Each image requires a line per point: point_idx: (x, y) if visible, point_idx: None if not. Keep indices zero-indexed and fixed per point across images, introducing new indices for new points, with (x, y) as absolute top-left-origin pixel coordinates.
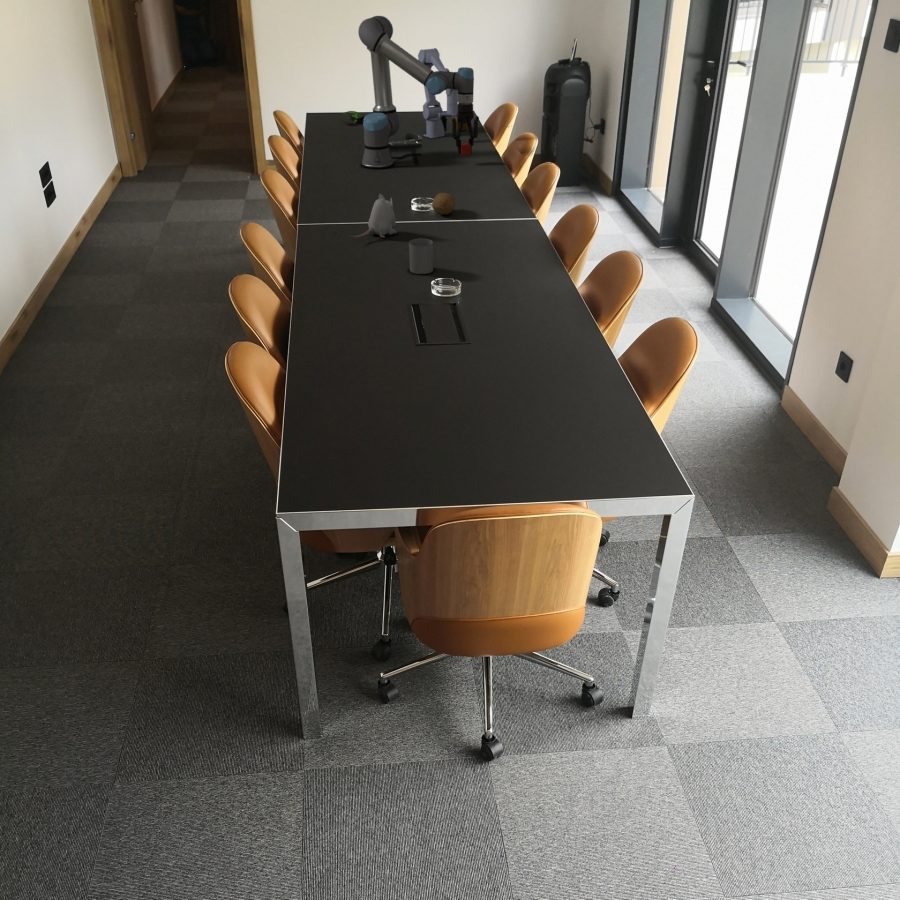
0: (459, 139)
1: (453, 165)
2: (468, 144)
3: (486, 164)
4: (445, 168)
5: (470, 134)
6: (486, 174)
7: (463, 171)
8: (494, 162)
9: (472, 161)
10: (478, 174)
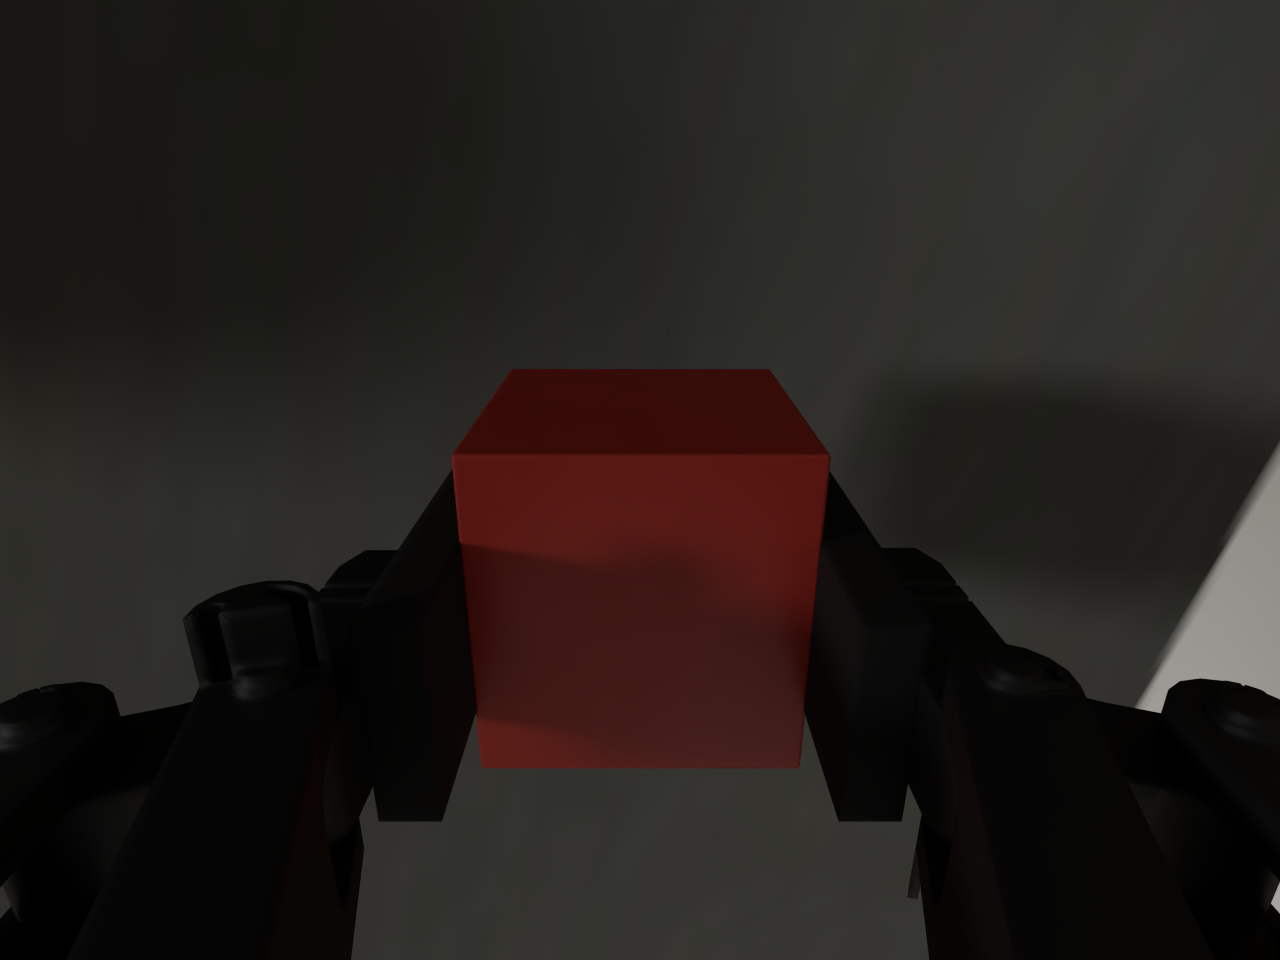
0: (361, 845)
1: (426, 411)
2: (727, 740)
3: (1024, 511)
4: (252, 555)
5: (948, 957)
6: (771, 953)
7: (508, 771)
8: (1234, 425)
9: (878, 227)
10: (670, 931)
